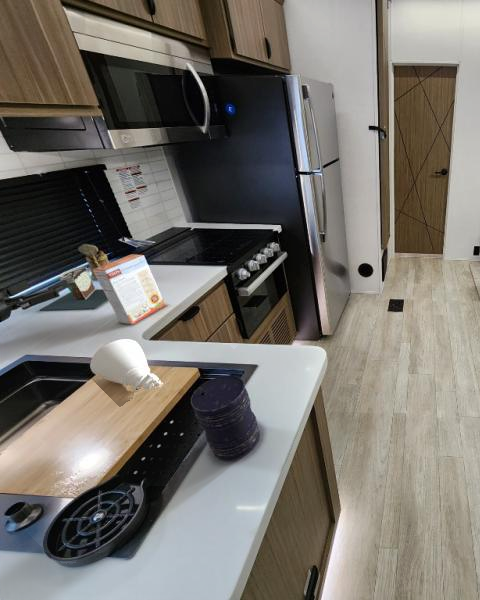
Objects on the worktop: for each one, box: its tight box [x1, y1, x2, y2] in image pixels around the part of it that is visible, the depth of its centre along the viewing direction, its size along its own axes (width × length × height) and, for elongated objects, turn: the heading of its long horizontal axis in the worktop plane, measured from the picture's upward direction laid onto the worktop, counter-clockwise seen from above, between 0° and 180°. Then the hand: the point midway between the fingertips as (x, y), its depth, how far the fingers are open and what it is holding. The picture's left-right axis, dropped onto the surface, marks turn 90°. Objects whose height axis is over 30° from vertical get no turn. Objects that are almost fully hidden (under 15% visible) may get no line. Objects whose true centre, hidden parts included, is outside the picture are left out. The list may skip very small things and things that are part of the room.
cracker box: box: [93, 253, 166, 325], centre depth 116 cm, size 14×6×21 cm, turn 165°
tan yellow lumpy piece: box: [77, 243, 111, 281], centre depth 145 cm, size 9×14×18 cm, turn 33°
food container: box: [59, 266, 97, 300], centre depth 131 cm, size 12×6×10 cm, turn 20°
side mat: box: [39, 288, 109, 312], centre depth 131 cm, size 20×16×1 cm
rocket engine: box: [89, 338, 164, 393], centre depth 87 cm, size 12×12×18 cm
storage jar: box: [190, 375, 261, 462], centre depth 69 cm, size 10×10×15 cm
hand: (47, 283), depth 117 cm, fingers open, 13 cm apart
